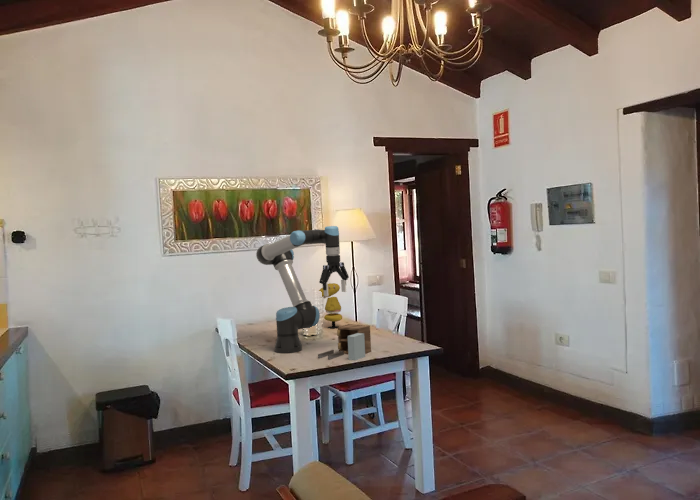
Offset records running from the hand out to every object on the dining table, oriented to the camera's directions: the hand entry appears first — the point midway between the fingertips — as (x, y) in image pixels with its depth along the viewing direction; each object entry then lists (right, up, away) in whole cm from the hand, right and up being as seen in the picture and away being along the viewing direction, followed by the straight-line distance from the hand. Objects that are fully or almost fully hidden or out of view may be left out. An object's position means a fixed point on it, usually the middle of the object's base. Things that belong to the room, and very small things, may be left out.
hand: (335, 293), depth 311 cm
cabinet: (+5, -31, -10) cm, 33 cm away
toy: (-4, -29, +75) cm, 80 cm away
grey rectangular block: (+12, -31, -19) cm, 39 cm away
